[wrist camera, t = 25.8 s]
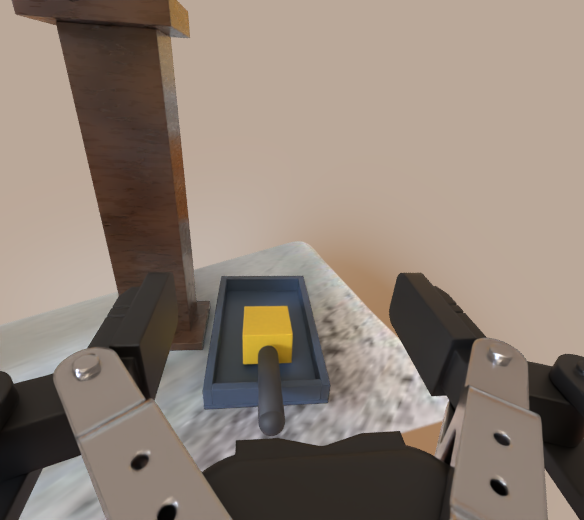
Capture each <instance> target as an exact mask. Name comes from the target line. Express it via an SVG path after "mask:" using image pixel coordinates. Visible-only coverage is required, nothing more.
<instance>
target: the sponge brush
mask: <svg viewBox="0 0 584 520" xmlns="http://www.w3.org/2000/svg"><path fill="white" fill-rule="evenodd" d="M292 341H293V333H292V328H291V322H290V317H289V311H288V306H245V307H244V321H243V364H258V415H259V427H260V429H261V431H262V432H263V433H264V434H266V435H268V436H275V435H277V434H279V433H280V432H281V431H282V429H283V427H284V424H285V416H284V406H283V397H282V387H281V377H280V368H279V363H291V362H292Z"/></svg>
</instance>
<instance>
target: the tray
mask: <svg viewBox="0 0 584 520" xmlns="http://www.w3.org/2000/svg"><path fill="white" fill-rule="evenodd" d="M245 306H288V311H289V317H290V322H291V328H292V333H293V341H292V362H291V363H279V368H280V377H281V387H282V397H283V405H299V404H319V403H328V397H329V391H330V381H329V377H328V373H327V369H326V365H325V361H324V357H323V353H322V349H321V345H320V341H319V337H318V333H317V329H316V325H315V321H314V317H313V313H312V309H311V305H310V301H309V297H308V293H307V289H306V285H305V281H304V277H303V276H221V281H220V287H219V293H218V299H217V305H216V312H215V318H214V324H213V330H212V336H211V342H210V348H209V354H208V361H207V367H206V373H205V379H204V385H203V399H204V409H219V408H239V407H258V364H243V321H244V307H245Z"/></svg>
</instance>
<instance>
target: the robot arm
mask: <svg viewBox="0 0 584 520" xmlns="http://www.w3.org/2000/svg"><path fill="white" fill-rule="evenodd" d="M389 316H390V321H391V324H392V326H393V328H394V329H395V331H396V333H397V335H398V337H399V338H400V340H401V342H402V344H403V346H404V347H405V349H406V351H407V353H408V355H409V356H410V358H411V360H412V362H413V364H414V365H415V367H416V369H417V371H418V373H419V375H420V376H421V378H422V380H423V382H424V384H425V385H426V387H427V389H428V391H429V393H430V394H431V396H446V395H447V397H448V399H449V402H448V404H447V407H446V410H445V414H444V419H443V423H442V427H441V431H440V436H439V440H438V444H437V448H436V453H435V456H433V455H431V454H429V453H427V452H425V451H422V450H420V449H417V448H414V447H411V446H406V445H405V443H404V440H403V438H402V435H401V433H400V431H394V432H376V433H361V434H358V435H355V436H352V437H349V438H346V439H343V440H340V441H337V442H335V443H332V444H329V445H325V446H316V445H311V444H306V443H301V442H296V441H290V440H285V439H280V438H272V439H254V440H237V441H236V452H235V455H233V456H230V457H227V458H225V459H223V460H221V461H219V462H217V463H215V464H213V465H212V466H210V467H208V468H207V469H205V470H204V471H203V472H202V473H201V471H200V470H199V468H198V466H197V465H196V463H195V462H194V460H193V459H192V457H191V456H190V454H189V453H188V451H187V450H186V448H185V447H184V445H183V444H182V442H181V441H180V439H179V437H178V436H177V434H176V433H175V431H174V430H173V428H172V427H171V425H170V424H169V422H168V421H167V419H166V418H165V416H164V415H163V413H162V411H161V410H160V408H159V407H158V405H157V404H156V402H155V401H154V400H155V397H156V394H157V390H158V387H159V384H160V380H161V377H162V374H163V371H164V367H165V364H166V361H167V357H168V354H169V351H170V348H171V344H172V341H173V338H174V335H175V331H176V328H177V323H178V306H177V298H176V290H175V282H174V276H173V273H172V272H148V273H147V275H146V277H145V279H144V281H143V282H142V284H141V286H140V287H130V288H129V289H128V290H126V291H125V292H124V293H122V294H121V295H120V296H119V297H118V299H117V300H116V302H115V304H114V305H113V309H111V310H110V312H109V313H108V315H107V318H105V320H104V322H103V323H102V325H101V327H100V328H99V330H98V331H97V333H96V335H95V336H94V338H93V340H92V341H91V343H90V345H89V346H88V348H87V349H84V350H81V351H78V352H76V353H74V354H72V355H70V356H69V357H67V358H66V359H65V360H63V361H62V362H61V363H60V364H59V365H58V366H57V368H56V370H55V371H54V373H53V374H50V375H47V376H43V377H39V378H35V379H31V380H27V381H23V382H19V383H15V384H14V383H13V381H12V379H11V377H10V376H9V374H7V373H5V372H2V371H0V520H18V519H19V517H20V515H21V513H22V511H23V509H24V507H25V505H26V503H27V500H28V498H29V496H30V494H31V492H32V490H33V488H34V486H35V484H36V481H37V479H38V477H39V475H40V473H41V471H42V469H43V468H44V467H47V466H50V465H53V464H56V463H59V462H62V461H65V460H68V459H71V458H74V457H76V456H79V455H82V457H83V460H84V463H85V465H86V468H87V470H88V473H89V476H90V478H91V481H92V483H93V486H94V488H95V491H96V494H97V496H98V499H99V501H100V504H101V507H102V509H103V512H104V514H105V517H106V520H548V515H547V500H546V484H545V472H544V471H545V470H544V468H545V469H546V471H547V472H548V474H549V475H550V477H551V478H552V480H553V481H554V483H555V484H556V485H557V487H558V488H559V490H560V491H561V493H562V494H563V496H564V497H565V498H566V500H567V502H568V503H569V504H570V506H571V507H572V509H573V510H574V512H575V513H576V515H577V516H578V518H579V519H580V520H584V357H582V356H578V355H573V354H564V355H561V356H559V357H558V359H557V360H556V362H555V364H554V365H553V366H547V365H543V364H538V363H533V362H528V361H527V360H526V358H525V357H524V356H523V355H522V353H520V352H519V351H518V350H517V349H515V348H514V347H512V346H511V345H509V344H507V343H505V342H503V341H500V340H497V339H492V338H487V337H486V336H485V335H484V334H483V333H482V332H481V331H480V329H479V328H478V327H477V326H476V325H475V324H474V323H473V322H472V320H471V319H470V318H469V317H468V316H467V315H466V314H465V313H463V310H462V309H461V308H460V307H459V306H458V305H456V302H455V301H454V300H453V299H452V298H451V297H450V296H449V295H448V294H447V293H446V292H444V291H442V290H441V289H439V288H438V287H436V286H433V285H432V284H431V283H430V282H429V280H427V278H426V277H425V276H424V275H423V274H422V273H400V274H399V275H398V277H397V280H396V284H395V288H394V292H393V296H392V300H391V304H390V309H389Z"/></svg>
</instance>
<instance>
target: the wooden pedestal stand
mask: <svg viewBox="0 0 584 520" xmlns="http://www.w3.org/2000/svg"><path fill="white" fill-rule="evenodd" d="M12 3H13V7H14V10H15V14H17V15H20V16H23V17H27V18H31V19H35V20H39V21H42V22H46V23H50V24H53V25H57V29H58V34H59V38H60V42H61V47H62V51H63V55H64V60H65V64H66V68H67V73H68V77H69V81H70V85H71V90H72V94H73V99H74V103H75V107H76V112H77V116H78V120H79V125H80V129H81V133H82V138H83V142H84V147H85V151H86V155H87V160H88V164H89V168H90V173H91V176H92V181H93V186H94V190H95V194H96V198H97V202H98V207H99V212H100V216H101V220H102V224H103V229H104V233H105V237H106V242H107V246H108V250H109V255H110V259H111V264H112V268H113V272H114V276H115V281H116V285H117V290H118V294H119V296H120V295H121V294H122V293H124V292H125V291H126V290H128V289H129V288H130V287H140V286H141V284H142V282H143V281H144V279H145V277H146V275H147V273H148V272H172V273H173V276H174V282H175V290H176V298H177V306H178V323H177V328H176V331H175V335H174V338H173V341H172V344H171V348H170V351H173V350H202V349H203V343H204V338H205V333H206V328H207V322H208V317H209V312H210V301H197V300H196V290H195V279H194V269H193V259H192V249H191V239H190V230H189V219H188V209H187V199H186V188H185V178H184V168H183V158H182V148H181V138H180V128H179V118H178V107H177V99H176V98H177V97H176V87H175V77H174V67H173V57H172V47H171V37H180V38H190V33H189V20H188V11H187V10H186V9H185V8H184V7H183V6H182V5H181V4H180V3H179V2H178V1H177V0H12Z"/></svg>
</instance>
